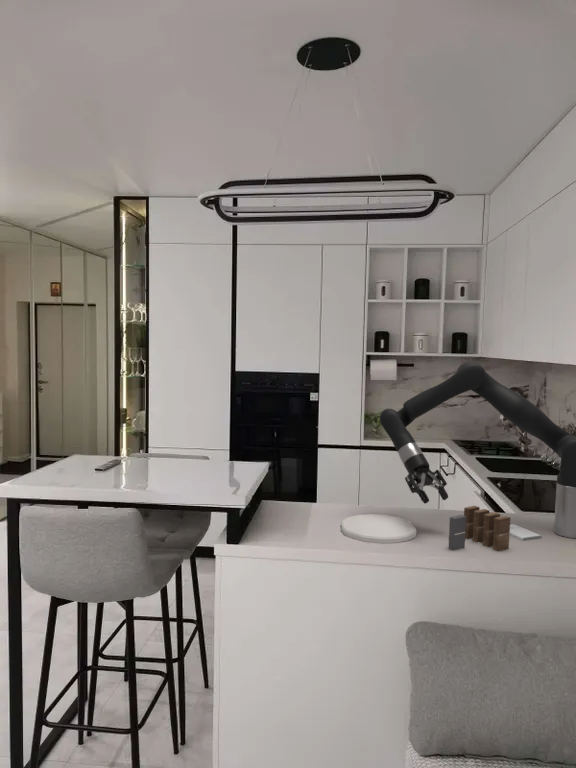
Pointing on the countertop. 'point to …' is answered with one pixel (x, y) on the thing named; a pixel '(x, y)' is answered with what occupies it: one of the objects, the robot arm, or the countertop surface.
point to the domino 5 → (501, 533)
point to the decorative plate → (378, 528)
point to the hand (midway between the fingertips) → (436, 500)
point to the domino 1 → (457, 532)
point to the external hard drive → (522, 533)
